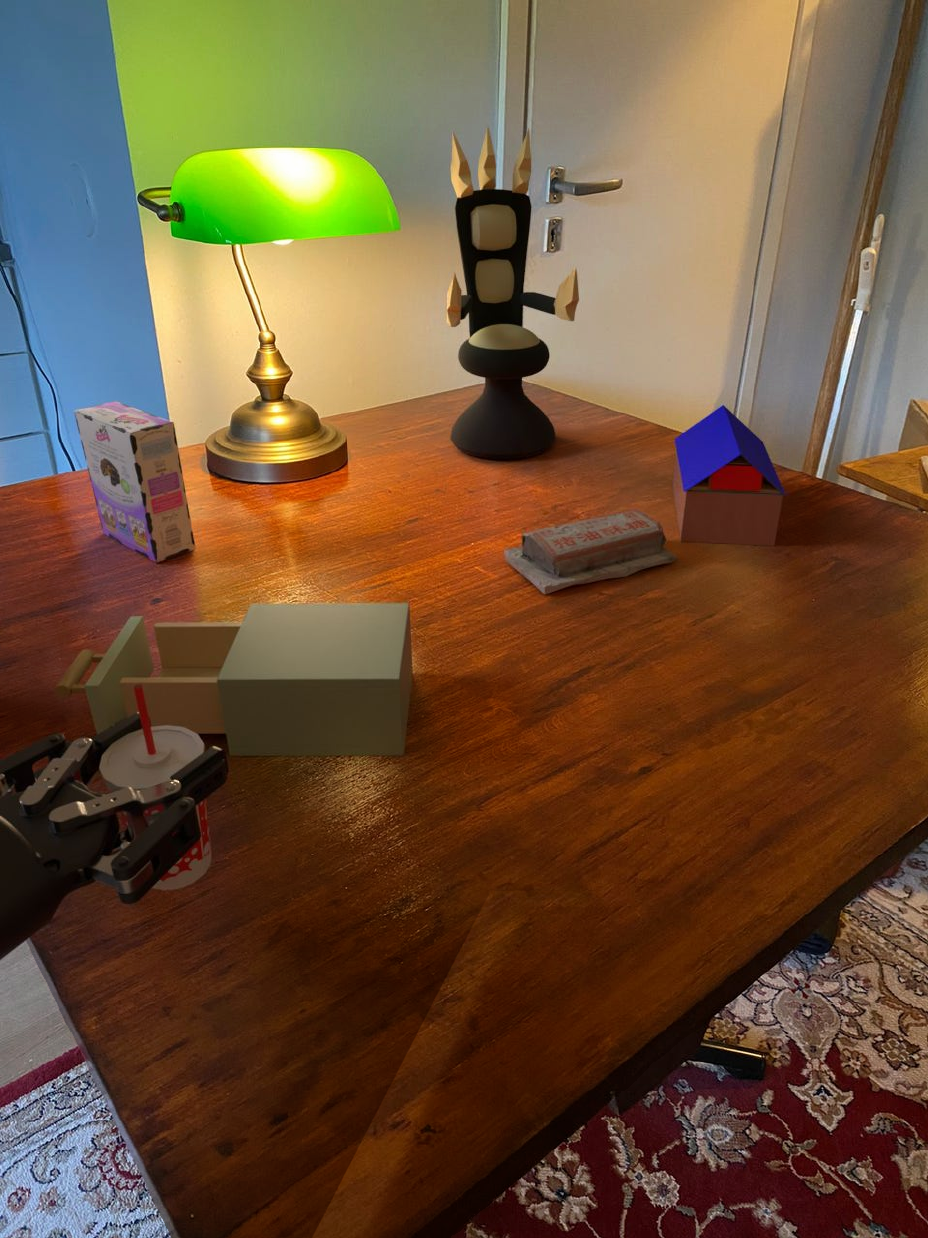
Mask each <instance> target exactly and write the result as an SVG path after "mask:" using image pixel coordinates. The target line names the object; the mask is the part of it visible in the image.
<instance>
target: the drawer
mask: <svg viewBox="0 0 928 1238" xmlns="http://www.w3.org/2000/svg"><path fill="white" fill-rule="evenodd" d="M242 622H243V621H232V622H231V621H228V622H227V621H226V622H225V621H221V622H220V621H217V622H216V621H214V622H212V621H209V622H208V621H207V622H205V621H204V622H201V621H200V622H199V621H198V622H197V621H195V622H194V621H193V622H190V621H189V622H187V621H186V622H155V624H154V626H153V630H154V634H155V640H156V644H157V650H158V653H159V659H160V663H161V667H162V668H161V669H160V672H159V674H158V676H157V677H156V676H155V677H151V676H152V674H153V673H154V671H155V666H154V661H153V657H152V656H153V655H152V651H151V647H150V642H149V637H148V633H147V629H146V624H145V619H144V616H143V615H131V616H129V618H128V619H127V621H126V622H125V624H124V625H123V627H122V628H121V630H120V631H119V633H118V634H117V635H116V638H115V639H114V640H113V642H112V644H111V645H110V646H109V648H108V649H107V651H106V652H105V653H95V652H94V651H93V650H91V649H89V648H84V649H82V650H80V652H79V653H78V655H77V656H76V658H74V660H73V661H72V662H71V664H70V665H69V667H68V669H67V670H66V671H65V673H64V675H63V676H62V677H61V678H60V680H59V681H58V683H57V684H56V686H55V687H54V689H53V691H54V692H53V693H54V694H55V696H56V697H58V698H59V699H62V700H64V699H69V698H70V697H71V696H72V695H73V694H85V695H86V698H87V702H88V706H89V709H90V713H91V717H92V720H93V724H94V729H95V732H96V735H98V734H99V733H101V732H102V731H104V730H106V729H107V728H109V727H110V726H112V725H114V724H115V723H117V722H118V721H120V720H122V719H124V718H127V717H130V716H131V715H133V714H135V713H136V712H139V710H138V706H137V701H136V696H135V692H134V686H135V685H137V684H141V685H142V688H143V692H144V697H145V702H146V707H147V711H148V716H149V718H150V722H151V727H154V726H164V725H170V726H178V727H185V728H187V729H189V730H191V731H193V732H195V733H197V734H198V735H200V734H202V735H203V734H205V735H207V734H210V735H211V734H213V735H214V734H216V735H217V734H221V735H222V734H225V735H226V730H225V724H224V719H223V713H222V707H221V702H220V696H219V690H218V684H217V678H218V676H219V674H220V671H221V669H222V667H223V665H224V662H225V660H226V658H227V656H228V653H229V651H230V649H231V647H232V644H233V642H234V640H235V638H236V635H237V633H238V631H239V629H240V626H241V624H242ZM93 663H98V665H97V666H96V667H95V669H94V670H93V672H92V673H91V675H90V676H89V678H88V679H87V681H86V682H85V683H84V684H82V683H81V684H79V683H80V682H81V680H82V679H83V677H84V676H85V675H86V673H87V672H88V670H89V669H90V667H91V666H92V664H93Z"/></svg>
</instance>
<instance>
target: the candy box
mask: <svg viewBox="0 0 928 1238" xmlns="http://www.w3.org/2000/svg"><path fill="white" fill-rule="evenodd" d="M73 412H74V413H73V414H74V417H75V421H76V425H77V431H78V434H79V439H80V443H81V446H82V450H83V455H84V459H85V463H86V467H87V471H88V476H89V480H90V484H91V488H92V492H93V496H94V501H95V504H96V509H97V513H98V517H99V521H100V525H101V530H102V533H103V534H104V535H105V536H107V537H108V538H111V539H113V540H115V541H116V542H118V543H119V544H121V545H123V546H125V547H127V548H129V549H130V550H132V551H134V552H136V553H137V554H139V555H142V556H143V557H145V558H147V559H148V560H150V561H152V562H154V563H156V564H157V563H160V562H163V561H165V560H169V559H172V558H175V557H177V556H179V555H183V554H186V553H189V552H192V551H194V550H196V543H195V537H194V532H193V526H192V521H191V516H190V510H189V509H190V508H189V504H188V503H189V502H188V497H187V493H186V487H185V481H184V474H183V467H182V463H181V457H180V452H179V443H178V439H177V433H176V428H175V422H174V421H171V420H168V419H165V418H163V417H159V416H157V415H154V414H152V413H149V412H146V411H143V410H140V409H138V408H135V407H132V406H129V405H127V404H124V403H122V402H119V401H117V400H114V401H110V402H106V403H101V404H97V405H93V406H88V407H84V408H79V409H75V410H74V411H73Z"/></svg>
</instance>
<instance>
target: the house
mask: <svg viewBox="0 0 928 1238" xmlns="http://www.w3.org/2000/svg"><path fill="white" fill-rule="evenodd" d="M674 445H675V446H674V447H675V456H674V465H673V473H672V482H671V487H672V494H673V499H674V505H675V512H676V513H675V514H676V519H677V520H676V521H677V527H678V532H679V540H680V542H686V543H706V544H707V543H708V544H727V545H728V544H729V545H745V546H746V545H747V546H749V545H750V546H767V547H768V546H769V547H775V544H776V538H777V532H778V527H779V523H780V522H779V521H780V516H781V509H782V506H783V505H782V503H783V498H784V497H787V494H786V492H785V490H784V487H783V485H782V483H781V481H780V478H779V476H778V473H777V471H776V469H775V467H774V465H773V462H772V460H771V457H770V455H769V453H768V450H767V447H766V445H765V443H764V441H763V440H761V438H760V437H758V436H757V435H756V434H755V433H754V432H753V431H752V430H751V429H750V428H749V427H748V426H747V425H745V424H744V422H742V421H741V419H739V418H738V417H737V416H736V415H735V414H734V413H733V412H731V410H730V409H728V408H727V407H726V406H725V405H724V404H722V405H721V406H720V407H718V408H717V409H715V410H713V411H712V412H711V413H710V414H708V415H707V416H705V417H703V419H701V420H699V421H698V422H697V423H695V424H694V425H692V426H691V427H690V428H688V429H687V430H685V431H684V432H682V433H681V434H680V435H678V436H676V437H675V438H674Z"/></svg>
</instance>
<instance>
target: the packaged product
mask: <svg viewBox="0 0 928 1238" xmlns="http://www.w3.org/2000/svg"><path fill="white" fill-rule="evenodd" d="M666 542H667V537H666V535H665V533H664V528H663V526H662V525H661V523H660V521H659V520H658V519H655V518H653V517H651V516H650V515H648V514H647V513H646V512H644V511H642V510H640V509H637V508H635V509H630V510H622V511H619V512H615V513H609V514H604V515H598V516H595V517H591V518H590V517H589V518H585V519H580V520H576V521H570V522H566V523H562V524H557V525H552V526H548V527H541V528H537V529H533V530H529V531H526V532H524V533H523V534H522V535H521V546H516V547H512V548H506V549H504V550H503V554H504V561H505V562H506V563H507V564H509V565H510V566H511V567H512V568H513V569H515V570H516V571H517V572H518V573H519V574H521V575H522V576H523V577H524V578H525V579H527V580H528V581H529V582H530V583H532V584H533V586H534V587H536V588H537V589H538V590H539V591H540V592H541V593H542V594H543V595H549V594H552V593H553V592H556V591H560V590H562V589H566V588H568V587H571V586H577V585H578V586H579V585H584V584H589V583H594V582H598V581H604V580H608V579H615V578H616V579H617V578H627V577H628V576H630V575H632V574H634V573H636V572H638V571H641V570H646V569H649V568H652V567H657V566H660V565H664V564H665V565H666V564H670V563H674V562H675V561H676V559H677V556H676V555H675V554H674V553H672V552H671V551H669V550H667V548H665V545H666Z"/></svg>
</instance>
